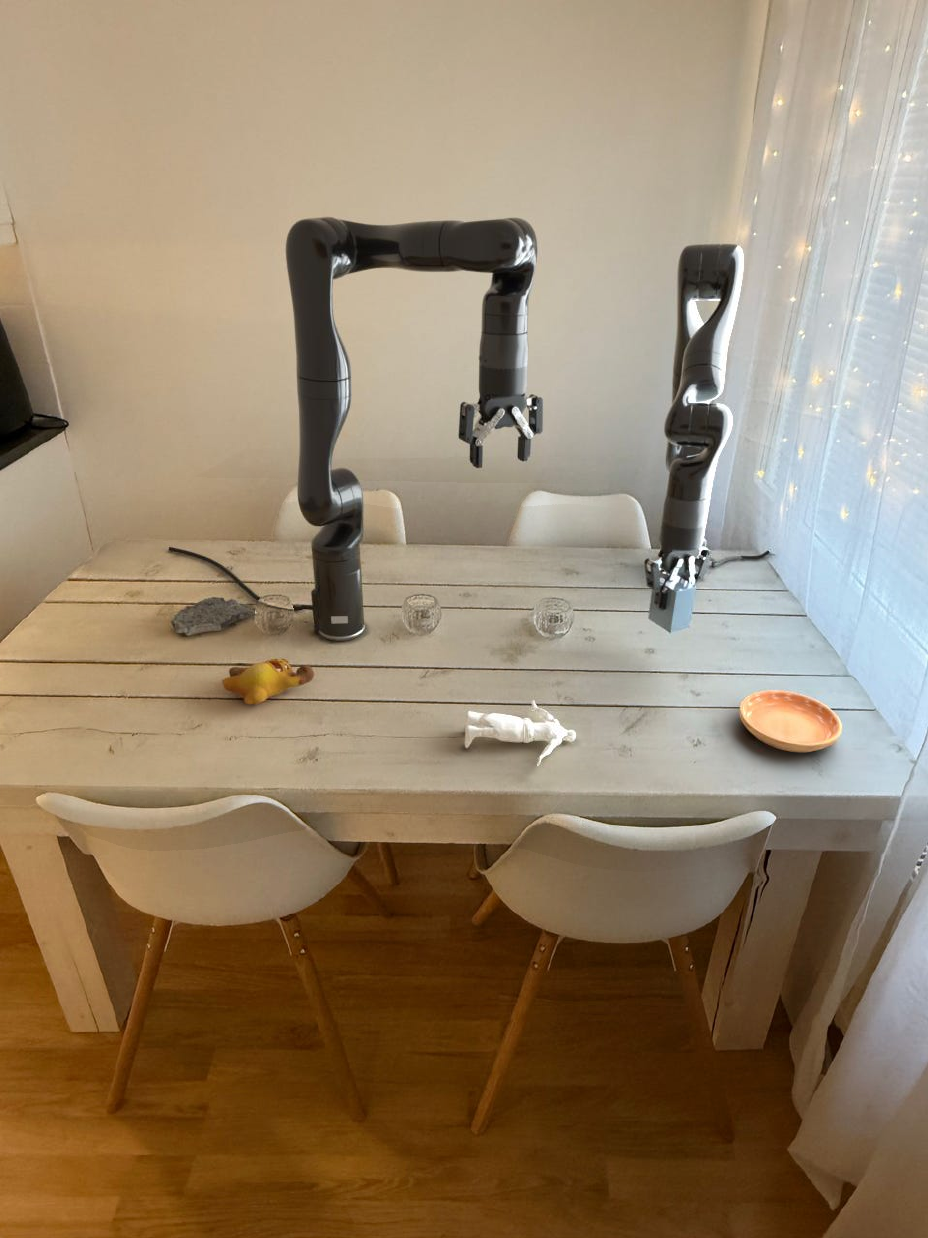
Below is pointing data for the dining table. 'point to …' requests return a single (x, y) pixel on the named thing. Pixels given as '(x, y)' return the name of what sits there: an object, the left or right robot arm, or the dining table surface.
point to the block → (675, 606)
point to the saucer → (790, 721)
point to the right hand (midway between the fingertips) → (671, 604)
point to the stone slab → (210, 615)
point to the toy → (265, 679)
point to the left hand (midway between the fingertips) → (500, 463)
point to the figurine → (517, 729)
